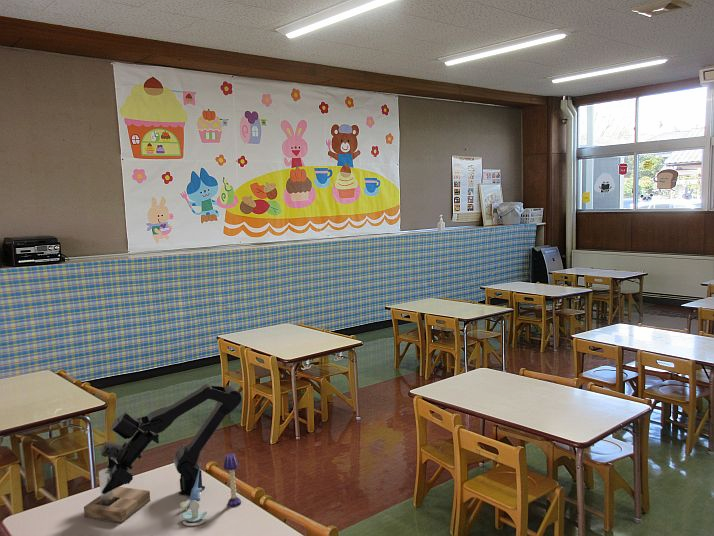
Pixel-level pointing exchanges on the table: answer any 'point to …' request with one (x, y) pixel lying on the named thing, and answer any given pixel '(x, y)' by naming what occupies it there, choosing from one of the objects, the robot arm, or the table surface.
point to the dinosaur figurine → (192, 494)
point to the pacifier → (193, 515)
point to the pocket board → (118, 505)
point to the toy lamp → (232, 478)
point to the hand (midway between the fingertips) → (101, 487)
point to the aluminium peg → (104, 478)
